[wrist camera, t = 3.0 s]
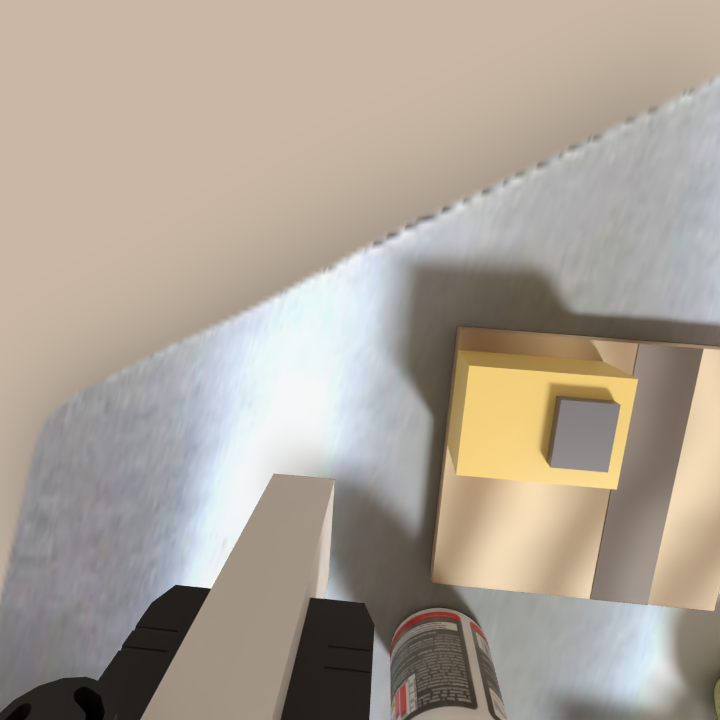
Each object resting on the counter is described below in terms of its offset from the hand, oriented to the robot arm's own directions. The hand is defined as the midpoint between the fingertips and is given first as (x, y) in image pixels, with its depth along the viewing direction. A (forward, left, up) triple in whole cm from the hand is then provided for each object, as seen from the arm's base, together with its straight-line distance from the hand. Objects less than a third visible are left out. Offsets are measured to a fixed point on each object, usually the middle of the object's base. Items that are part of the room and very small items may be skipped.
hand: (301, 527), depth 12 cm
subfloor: (+13, -4, -15) cm, 20 cm away
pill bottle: (+6, -16, -15) cm, 22 cm away
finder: (+9, 0, -13) cm, 16 cm away
